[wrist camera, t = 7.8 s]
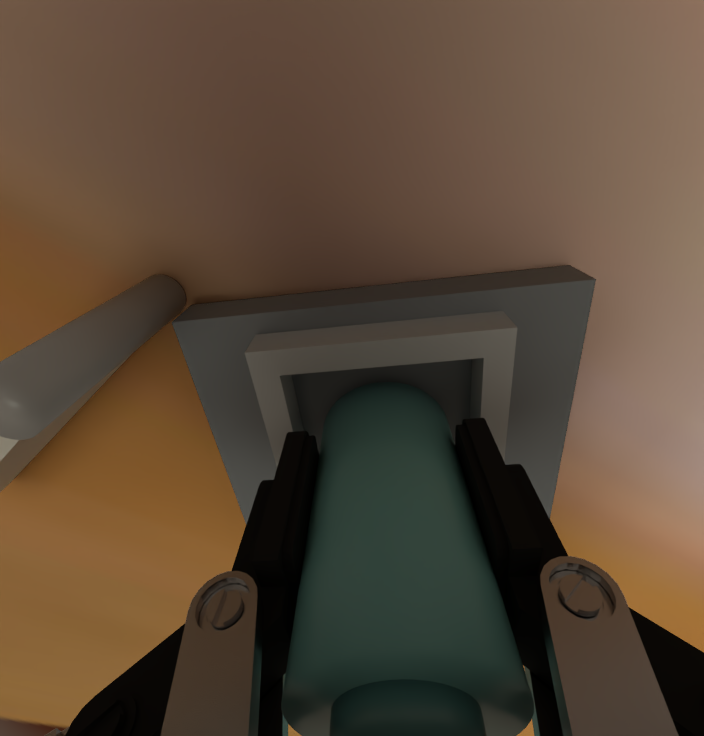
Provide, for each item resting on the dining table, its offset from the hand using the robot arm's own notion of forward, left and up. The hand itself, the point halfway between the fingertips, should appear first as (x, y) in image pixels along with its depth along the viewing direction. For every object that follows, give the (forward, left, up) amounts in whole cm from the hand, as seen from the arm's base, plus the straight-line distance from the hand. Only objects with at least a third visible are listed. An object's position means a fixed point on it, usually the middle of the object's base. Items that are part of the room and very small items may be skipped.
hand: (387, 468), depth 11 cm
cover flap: (-1, -12, -4) cm, 12 cm away
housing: (+4, 0, -4) cm, 5 cm away
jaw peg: (0, 0, -2) cm, 2 cm away
